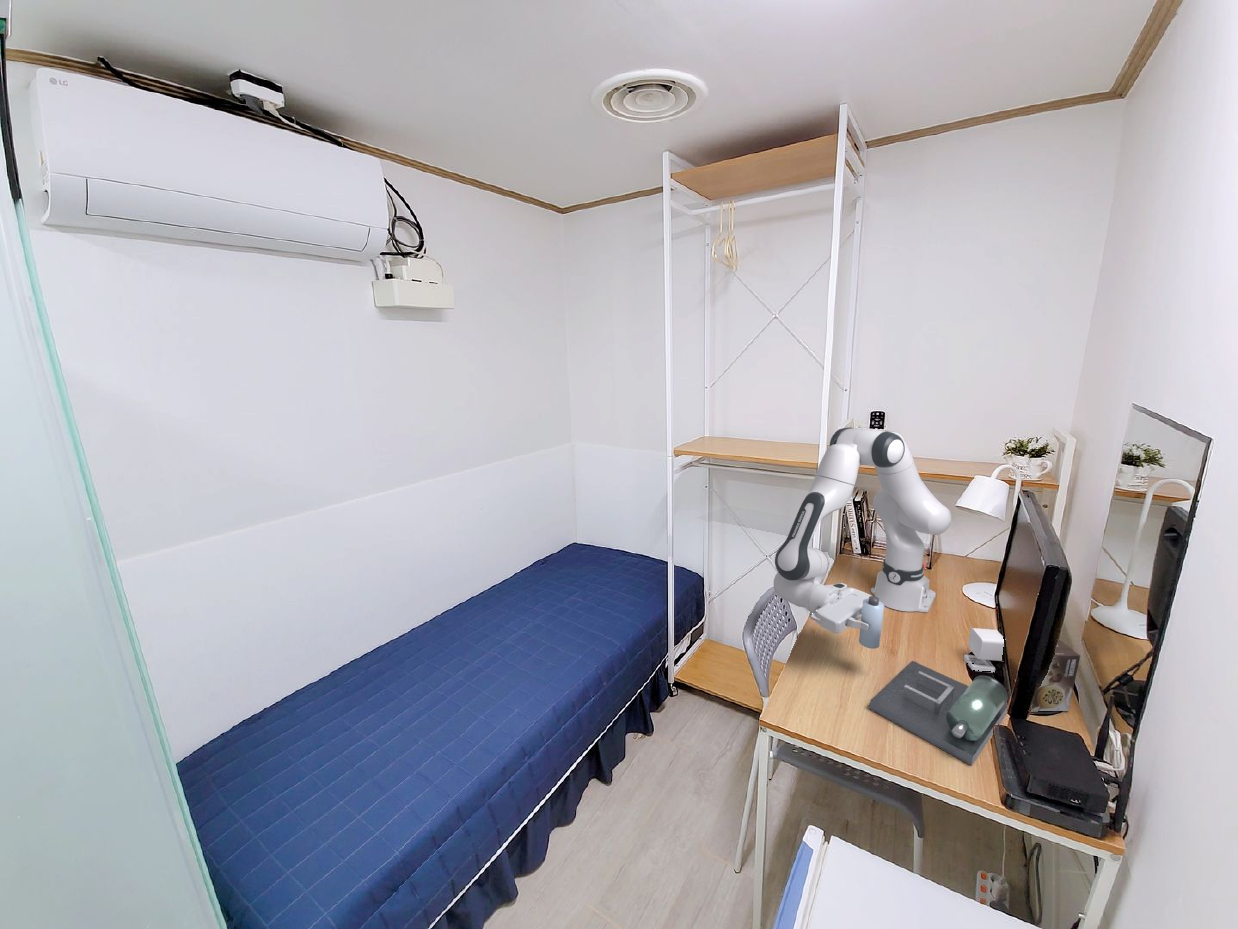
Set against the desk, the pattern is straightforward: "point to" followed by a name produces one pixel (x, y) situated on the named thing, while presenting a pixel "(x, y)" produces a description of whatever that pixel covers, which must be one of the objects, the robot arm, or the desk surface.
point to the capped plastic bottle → (871, 622)
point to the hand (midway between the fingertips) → (874, 622)
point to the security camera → (984, 649)
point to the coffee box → (1058, 681)
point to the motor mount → (943, 709)
